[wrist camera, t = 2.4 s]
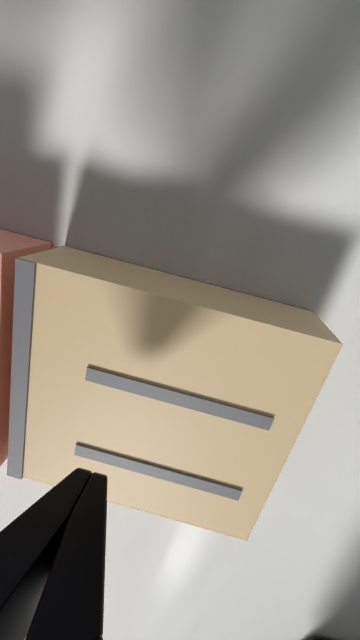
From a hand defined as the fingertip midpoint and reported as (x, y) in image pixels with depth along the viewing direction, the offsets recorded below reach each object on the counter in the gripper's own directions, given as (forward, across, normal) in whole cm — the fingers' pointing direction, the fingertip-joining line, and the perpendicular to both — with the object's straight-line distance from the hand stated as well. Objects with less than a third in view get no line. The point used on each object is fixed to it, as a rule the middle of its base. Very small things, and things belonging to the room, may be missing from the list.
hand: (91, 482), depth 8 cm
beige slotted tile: (+6, -1, 0) cm, 6 cm away
